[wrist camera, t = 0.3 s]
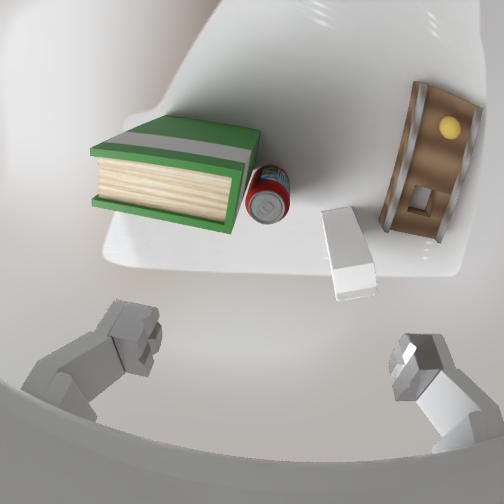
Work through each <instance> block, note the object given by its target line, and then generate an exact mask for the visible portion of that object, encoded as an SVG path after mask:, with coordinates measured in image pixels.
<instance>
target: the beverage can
mask: <svg viewBox="0 0 504 504" xmlns="http://www.w3.org/2000/svg"><path fill="white" fill-rule="evenodd" d="M245 205H246V209H247V211H248V213H249V215H250V216H251V217H252V218H253V219H254V220H255V221H257V222H259V223H261V224H273V223H276V222H278V221H280V220H281V219H283V218H284V217H285V216H286V214H287V212H288V210H289V206H290V186H289V178H288V176H287V174H286V173H285V171H284V170H282V169H281V168H279V167H277V166H273V165H267V166H263V167H261V168H259V169H258V170H257V171H256V172H255V174H254V175H253V178H252V180H251V183H250V186H249V189H248V193H247V196H246V200H245Z"/></svg>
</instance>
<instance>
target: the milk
mask: <svg viewBox="0 0 504 504" xmlns="http://www.w3.org/2000/svg"><path fill="white" fill-rule="evenodd" d="M321 215H322V221H323V227H324V233H325V239H326V245H327V250H328V255H329V261H330V266H331V272H332V278H333V284H334V289H335V296H336V301H342V300H349V299H355V298H361V297H366V296H372V295H377V294H378V293H379V291H378V288H377V282H376V273H375V266H374V262H373V259H372V256H371V254H370V251H369V249H368V246H367V243H366V241H365V238H364V236H363V234H362V231H361V229H360V226H359V224H358V221H357V219H356V217H355V214H354V212H353V210H352V207H347V208H341V209H335V210H329V211H323V212H321Z"/></svg>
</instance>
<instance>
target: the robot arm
mask: <svg viewBox="0 0 504 504" xmlns="http://www.w3.org/2000/svg"><path fill="white" fill-rule="evenodd" d="M158 318H159V312H158V308H156V307H151V306H146V305H142V304H137V303H132V302H126V301H122V300H117V299H116V300H114V301H113V302H112V303H111V305H110V307H109V308H108V310H107V311H106V313H105V314H104V316H103V318H102V319H101V321H100V322H99V324H98V326H97V327H96V329H95V331H94V332H88V333H86V334H85V335H83V336H81V337H79V338H78V339H76V340H74V341H72V342H70V343H69V344H67V345H65V346H64V347H61V348H60V349H58V350H56V351H54V352H53V353H51V354H49V355H48V356H46V357H44V358H42V359H41V360H39V361H37V363H36V364H35V366H34V368H33V369H32V371H31V373H30V374H29V376H28V377H27V379H26V381H25V382H24V384H23V386H22V388H21V389H19V388H17V387H15V386H13V385H11V384H9V383H7V382H5V381H4V380H2V379H0V504H504V422H503V418H502V415H501V412H500V409H499V406H498V405H497V404H496V403H495V402H494V401H493V400H492V399H491V398H490V397H489V396H488V395H487V394H486V393H485V392H483V391H482V390H481V389H480V388H479V387H478V386H477V385H476V384H475V383H474V382H473V381H472V380H471V379H470V378H469V377H468V376H466V375H465V374H464V373H463V372H462V371H461V370H460V369H456V367H455V365H454V362H453V359H452V357H451V354H450V352H449V349H448V347H447V344H446V342H445V339H444V337H443V336H442V335H441V334H407V333H406V334H403V335H402V336H401V338H400V340H399V344H400V346H398V347H397V348H396V349H394V350H393V352H392V354H391V356H390V360H389V372H390V376H391V377H392V378H393V379H394V380H395V382H394V384H393V391H394V395H395V400H396V401H416V403H417V404H418V405H419V407H420V408H421V409H422V410H423V412H424V413H425V415H426V416H427V417H428V419H429V420H430V421H431V423H432V424H433V425H434V427H435V428H436V429H437V431H438V432H439V433H440V435H441V436H442V438H441V439H440V440H439V441H438V442H436V443H435V444H434V445H433V447H432V452H433V453H430V454H425V455H418V456H411V457H403V458H395V459H385V460H374V461H358V462H290V461H274V460H263V459H262V460H261V459H253V458H244V457H236V456H228V455H222V454H216V453H209V452H204V451H198V450H193V449H188V448H184V447H179V446H174V445H170V444H166V443H162V442H158V441H154V440H150V439H146V438H143V437H139V436H136V435H132V434H129V433H126V432H123V431H119V430H116V429H113V428H110V427H107V426H104V425H102V424H98V423H96V422H95V421H96V419H97V415H96V413H95V412H94V410H93V409H92V407H91V406H90V404H89V402H90V401H92V400H93V399H94V398H95V397H96V396H98V395H99V394H100V393H102V392H103V391H104V390H105V389H106V388H108V387H109V386H110V385H111V384H113V383H114V382H115V381H116V380H118V379H119V378H120V377H121V376H122V375H124V374H125V372H127V373H131V374H136V375H140V376H145V377H148V376H149V373H150V371H151V368H152V366H153V363H154V360H153V356H152V355H154V354H155V353H157V352H158V351H159V348H160V345H161V340H162V328H161V325H160V324H159V323H158V322H157V320H158Z"/></svg>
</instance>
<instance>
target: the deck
mask: <svg viewBox="0 0 504 504" xmlns="http://www.w3.org/2000/svg"><path fill="white" fill-rule="evenodd" d="M482 111H483V108H481V107H479V106H476V105H473V104H471V103H469V102H467V101H465V100H463V99H461V98H458V97H456V96H454V95H451V94H449V93H447V92H444V91H442V90H439V89H437V88H434V87H432V86H429V85H428V84H426V83H423V82H415V81H414V82H413V88H412V93H411V98H410V104H409V108H408V113H407V118H406V122H405V127H404V131H403V136H402V140H401V144H400V148H399V152H398V156H397V160H396V164H395V167H394V171H393V175H392V178H391V182H390V185H389V189H388V192H387V196H386V199H385V202H384V206H383V209H382V212H381V215H380V219H379V222H380V224H381V226H382V228H383V230H384V232H387V233H389V230H394V231H399V232H404V233H409V234H414V235H419V236H423V237H428V238H433V239H435V240H436V241H437V243H441V241H442V239H443V236H444V234H445V231H446V229H447V226H448V224H449V221H450V219H451V216H452V213H453V211H454V208H455V205H456V203H457V200H458V197H459V194H460V191H461V188H462V185H463V182H464V179H465V176H466V173H467V169H468V166H469V163H470V159H471V156H472V152H473V148H474V145H475V141H476V137H477V133H478V129H479V124H480V120H481V116H482ZM447 116H450V117H453V118H455V119H456V120H457V121H458V122H459V124H460V127H461V132H460V135H459V136H458V137H457V138H455V139H447V138H445V137H444V136H443V135H442V134H441V132H440V129H439V124H440V121H441V120H442V119H443V118H444V117H447ZM415 185H418V186H422V187H425V188H429V189H432V191H431V194H430V197H429V200H428V203H427V206H426V209H425V211H424V210H420V209H415V208H411V207H408V206H409V203H410V200H411V197H412V194H413V191H414V187H415Z"/></svg>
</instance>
